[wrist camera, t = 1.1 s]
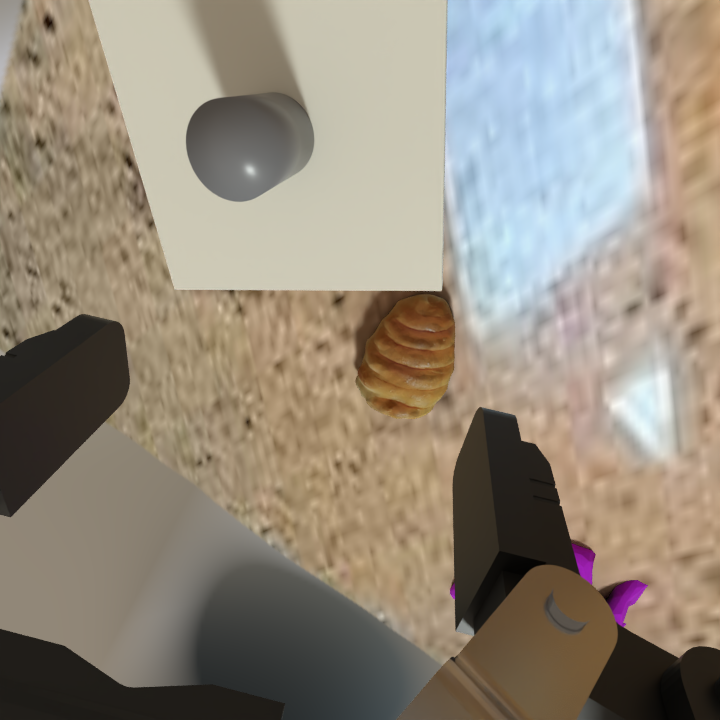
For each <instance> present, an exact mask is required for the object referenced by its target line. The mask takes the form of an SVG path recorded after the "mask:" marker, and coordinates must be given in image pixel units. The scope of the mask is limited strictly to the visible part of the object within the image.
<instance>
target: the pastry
mask: <svg viewBox="0 0 720 720" xmlns="http://www.w3.org/2000/svg"><path fill="white" fill-rule="evenodd" d="M365 347H366V350H365V354H364V357H363V361H362V364H361V366H360V368H359V370H358V376H357V377H356V385H357V387H358V389H359V390H360V391H361V395H362V396H363V397H364V398H365V399H366V401H367V404H368V405H369V406H370V407H371V408H373V409H374V410H376V411H378V412H380V413H382V414H385V415H387V416H390V417H393V418H396V419H400V418H407V419H415V418H419V417H422V416H424V415H426V414H427V413H429V412H430V411H431V410H432V409H433V407H434V405H435V403H436V402H437V401H438V400H440V398H441V397H442V396H443V394H444V393H445V392H446V390H447V387H448V382H449V380H450V376H451V375H452V372H453V370H454V358H455V356H454V348H455V322H454V319H453V316H452V313H451V310H450V307H449V305H448V303H447V302H446V301H445V300H444V299H443V298H440V297H437V296H435V295H432V294H420V295H415V296H411V297H409V298H405V299H402V300H399V301H398V302H397V303H396V305H395V306H394V308H393V309H392V310H391V312H390V313H389V314H388V315H387V316H386V317H385V318H383V319H382V321H381V322H380V324H379V325H378V327H377V330H376V331H375V332H374V334H373V335H372V336H371V337H370V338H369V339H368V340H367V342H366V345H365Z"/></svg>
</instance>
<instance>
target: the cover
mask: <svg viewBox="0 0 720 720" xmlns="http://www.w3.org/2000/svg"><path fill="white" fill-rule="evenodd" d="M89 3H90V7H91V10H92V14H93V17H94V20H95V24H96V27H97V30H98V34H99V37H100V40H101V44H102V47H103V50H104V54H105V57H106V61H107V64H108V67H109V71H110V74H111V77H112V81H113V84H114V87H115V91H116V94H117V97H118V101H119V104H120V107H121V111H122V114H123V118H124V121H125V124H126V128H127V131H128V134H129V138H130V141H131V144H132V148H133V151H134V154H135V158H136V161H137V164H138V168H139V171H140V175H141V178H142V181H143V185H144V188H145V191H146V195H147V198H148V201H149V205H150V208H151V211H152V215H153V218H154V221H155V225H156V228H157V232H158V235H159V238H160V242H161V245H162V248H163V252H164V255H165V258H166V262H167V265H168V268H169V272H170V275H171V279H172V282H173V285H174V289H175V290H347V291H442V285H443V235H444V177H445V119H446V62H447V4H448V0H89Z"/></svg>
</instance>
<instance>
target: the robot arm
mask: <svg viewBox="0 0 720 720" xmlns="http://www.w3.org/2000/svg"><path fill="white" fill-rule="evenodd" d="M129 384H130V376H129V368H128V359H127V351H126V342H125V334H124V329H123V327H122V325H121V324H120V323H119V322H116V321H112V320H108V319H103V318H99V317H95V316H90V315H86V314H82V315H79V316H77V317H75V318H74V319H72V320H71V321H69V322H68V323H66V324H65V325H63V326H62V327H60V328H58V329H57V330H53V331H50V332H47V333H44V334H41V335H38V336H35V337H32V338H29V339H27V340H25V341H23V342H22V343H20V344H19V345H17V346H15V347H14V348H12V349H11V350H9V351H8V352H6V355H5V356H2V355H1V356H0V515H4V516H8V517H11V516H12V515H13V514H14V513H15V512H16V511H17V510H18V509H19V508H20V507H21V506H22V505H23V504H24V503H25V502H26V501H27V500H28V499H29V498H30V497H31V496H32V495H33V494H34V493H35V492H36V491H37V490H38V489H39V488H40V487H41V486H42V485H43V484H44V483H45V482H46V481H47V480H48V479H49V478H50V477H51V476H52V475H53V474H54V473H55V472H56V471H57V470H58V469H59V468H60V466H62V465H63V463H64V462H65V461H66V460H67V459H68V458H69V457H70V456H71V455H72V454H73V453H74V452H75V451H76V450H77V449H78V448H79V447H80V446H81V445H82V444H83V443H84V442H85V441H86V440H87V439H88V438H89V437H90V436H91V435H92V434H93V433H94V432H95V431H96V430H97V429H98V428H99V427H100V426H101V425H102V424H103V423H104V422H105V421H106V420H107V419H108V418H109V417H110V416H111V415H112V414H113V413H114V412H115V411H116V410H117V409H118V407H119V406H120V405H121V404H122V403H123V401H124V399H125V398H126V395H127V393H128V389H129ZM559 504H560V499H559V496H558V492H557V489H556V488H555V481H554V477H553V474H552V470H551V466H550V463H549V462H548V461H547V459H546V458H545V457H544V455H543V454H542V453H541V451H540V450H539V449H538V447H537V446H536V444H533V443H528V442H524V441H521V437H520V432H519V428H518V423H517V419H516V416H515V415H512V414H508V413H503V412H499V411H495V410H491V409H486V408H482V407H480V408H478V410H477V411H476V413H475V415H474V418H473V420H472V423H471V425H470V428H469V431H468V433H467V436H466V438H465V441H464V443H463V446H462V448H461V451H460V453H459V456H458V459H457V462H456V466H455V470H454V476H453V530H454V578H455V626H456V632H460V633H464V634H468V635H472V636H473V638H472V639H471V640H470V641H469V642H468V644H467V645H466V646H465V647H464V648H463V650H462V651H461V652H460V653H459V654H458V655H457V656H456V657H455V658H454V657H451V658H450V659H449V660H448V661H447V662H446V663H445V664H444V665H443V666H442V667H441V668H440V669H439V670H438V672H437V673H436V674H435V675H434V676H433V677H432V679H431V680H430V681H429V682H428V683H427V684H426V686H425V687H424V688H423V689H422V690H421V691H420V693H419V694H418V695H417V696H416V697H415V698H414V700H413V701H412V702H411V703H410V704H409V705H408V707H407V708H406V709H405V710H404V711H403V712H402V714H401V715H400V716H399V717H398V718H397V720H720V650H718V649H715V648H711V647H703V646H699V647H693V648H691V649H689V650H688V651H686V652H685V653H684V654H683V655H682V656H681V657H680V658H678V657H676V656H674V655H672V654H670V653H668V652H667V651H665V650H663V649H661V648H659V647H657V646H656V645H654V644H652V643H650V642H648V641H646V640H645V639H643V638H641V637H639V636H637V635H636V634H634V633H632V632H630V631H629V630H627V629H625V628H624V627H622V626H621V625H619V624H618V623H617V622H616V620H615V617H614V615H613V613H612V610H611V608H610V607H609V605H608V603H607V602H606V600H605V599H604V598H603V596H602V595H601V594H600V593H599V592H598V591H597V589H596V588H595V587H594V586H592V585H591V584H590V583H589V582H588V581H587V580H585V579H584V578H582V577H581V576H580V573H579V569H578V565H577V562H576V558H575V554H574V551H573V547H572V543H571V540H570V536H569V532H568V529H567V525H566V521H565V518H564V514H563V510H562V507H561V506H560V505H559ZM284 706H285V703H281V702H277V701H273V700H269V699H266V698H262V697H257V696H254V695H250V694H247V693H242V692H239V691H235V690H231V689H227V688H223V687H220V686H216V685H188V686H164V687H141V688H140V687H139V688H132V687H126V686H123V685H121V684H119V683H118V682H116V681H115V680H113V679H112V678H111V677H109V676H108V675H106V674H105V673H103V672H102V671H100V670H99V669H97V668H96V667H95V666H93V665H92V664H90V663H88V662H87V661H86V660H84V659H83V658H81V657H80V656H78V655H77V654H76V653H74V652H73V651H71V650H70V649H68V648H67V647H65V646H63V645H59V644H55V643H51V642H48V641H44V640H40V639H36V638H33V637H29V636H24V635H21V634H17V633H13V632H10V631H6V630H2V629H0V720H282V716H283V711H284Z"/></svg>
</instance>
